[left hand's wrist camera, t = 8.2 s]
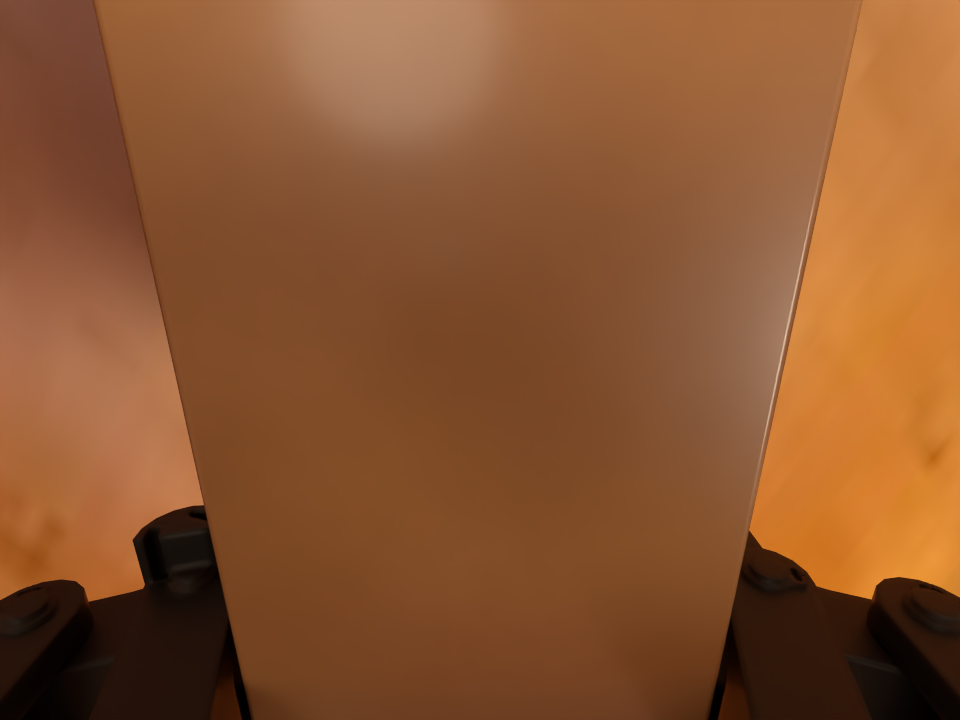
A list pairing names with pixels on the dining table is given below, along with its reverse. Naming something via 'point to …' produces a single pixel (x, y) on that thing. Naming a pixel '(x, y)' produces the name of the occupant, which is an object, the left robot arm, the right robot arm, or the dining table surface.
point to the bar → (478, 329)
